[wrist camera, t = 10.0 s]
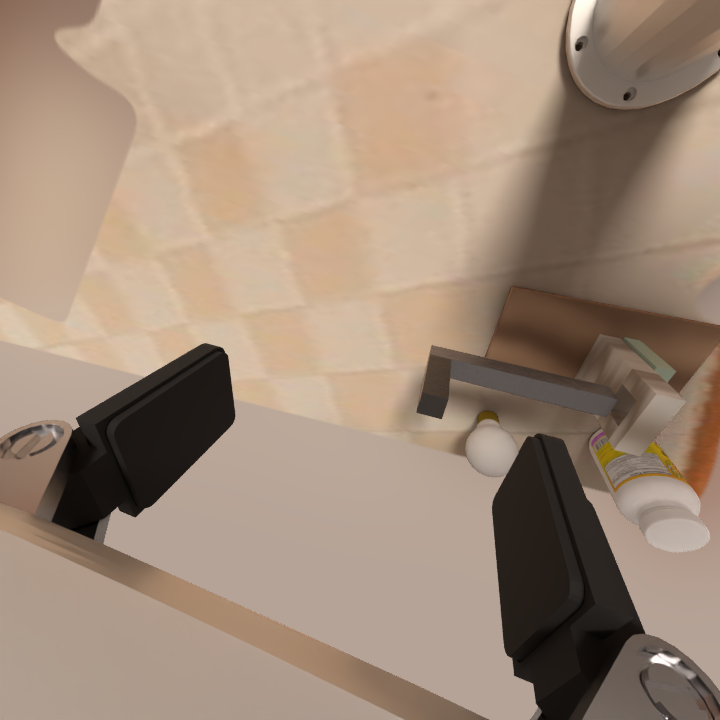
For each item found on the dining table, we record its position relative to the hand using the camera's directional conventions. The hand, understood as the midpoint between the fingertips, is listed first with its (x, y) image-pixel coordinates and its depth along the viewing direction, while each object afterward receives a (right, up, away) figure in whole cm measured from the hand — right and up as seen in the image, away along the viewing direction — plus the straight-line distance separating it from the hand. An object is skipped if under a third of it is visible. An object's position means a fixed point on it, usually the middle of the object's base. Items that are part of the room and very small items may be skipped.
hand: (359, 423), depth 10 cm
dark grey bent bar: (+15, +1, +20) cm, 25 cm away
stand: (+27, +2, +26) cm, 37 cm away
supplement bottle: (+33, -8, +30) cm, 45 cm away
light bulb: (+18, -6, +33) cm, 38 cm away
